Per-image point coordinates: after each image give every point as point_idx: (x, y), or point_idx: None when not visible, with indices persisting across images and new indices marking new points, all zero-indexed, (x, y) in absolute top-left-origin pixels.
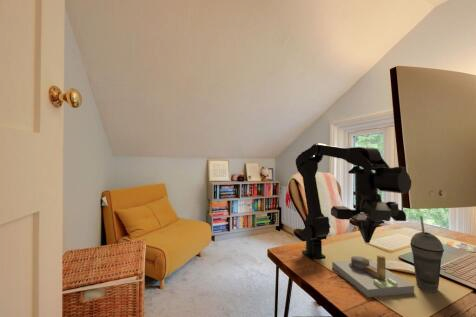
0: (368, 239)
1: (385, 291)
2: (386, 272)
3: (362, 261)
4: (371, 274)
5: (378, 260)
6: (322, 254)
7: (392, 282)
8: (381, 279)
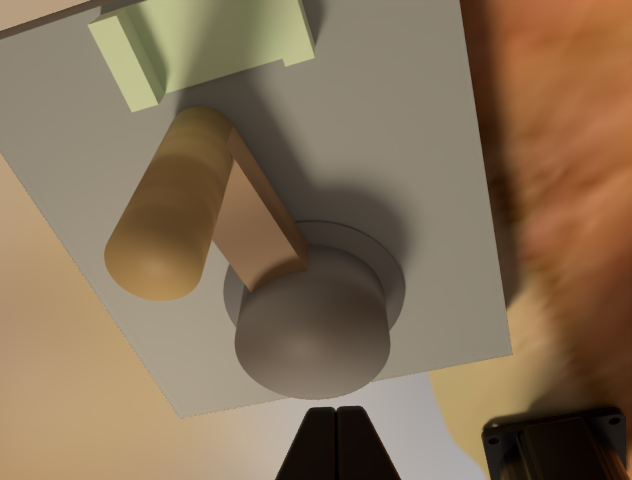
0: (329, 464)
1: None
2: None
3: (308, 314)
4: None
5: (203, 221)
6: (493, 459)
7: (133, 42)
8: None
